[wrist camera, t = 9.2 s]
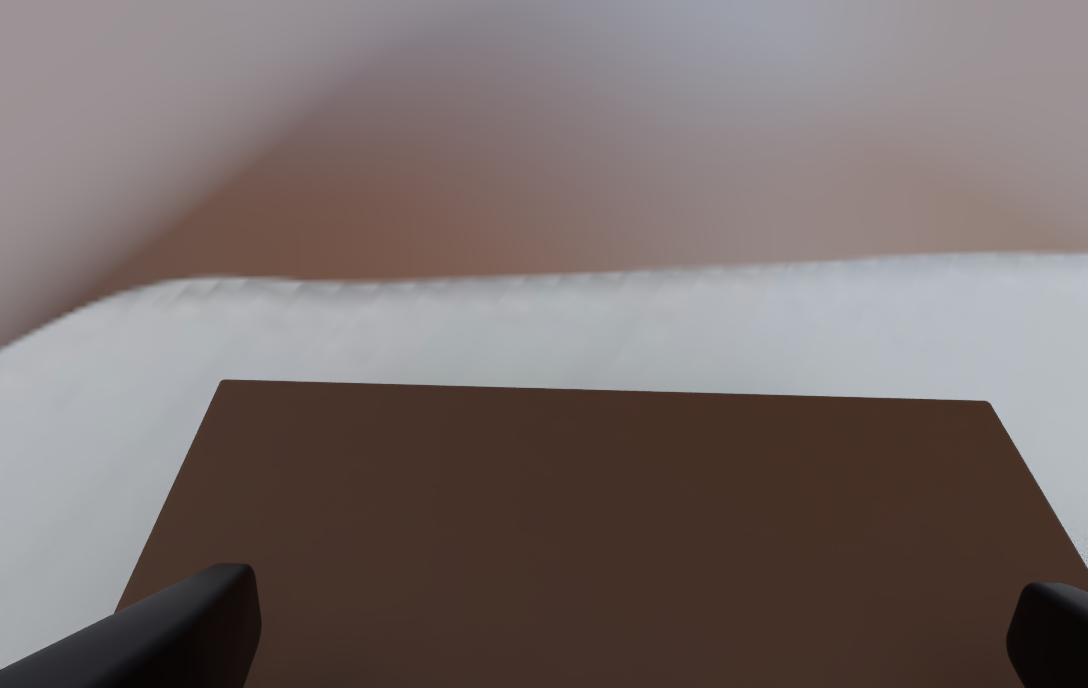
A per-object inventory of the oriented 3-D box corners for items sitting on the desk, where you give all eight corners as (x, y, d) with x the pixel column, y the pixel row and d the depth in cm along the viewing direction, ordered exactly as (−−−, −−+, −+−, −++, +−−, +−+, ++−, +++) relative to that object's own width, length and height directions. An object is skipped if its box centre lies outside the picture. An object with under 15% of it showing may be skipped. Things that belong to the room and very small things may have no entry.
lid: (1453, 1292, 7) (2178, 1327, 4) (-148, 1275, 6) (-674, 1299, 4) (973, 426, 14) (1094, 217, 11) (229, 406, 14) (157, 187, 11)
